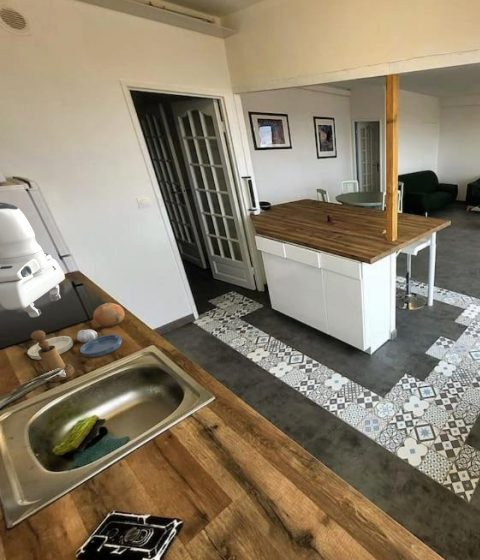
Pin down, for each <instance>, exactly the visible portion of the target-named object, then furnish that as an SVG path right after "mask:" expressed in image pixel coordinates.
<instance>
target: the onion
mask: <svg viewBox="0 0 480 560" xmlns="http://www.w3.org/2000/svg"><path fill="white" fill-rule="evenodd" d="M92 318H93V321H94V322H95V323H96V324H97V325H98V326H100V327H105V328H107V327H114V326H117V325H119V324H121V322H122V321H123V320H124V319H125V310H124V308H123V307H122V306H121V305H120V304H117V303H113V302H105V303H103V304H101V305H99V306H98V307H96V308H95V310H94V311H93V315H92Z"/></svg>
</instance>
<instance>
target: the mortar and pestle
mask: <svg viewBox="0 0 480 560" xmlns="http://www.w3.org/2000/svg"><path fill="white" fill-rule="evenodd" d="M30 338H31V339H32V340H34V341H36V342H37V343H39V344H38V346H39V347H40V348H42V349H40V350H39V351H38V354H39V355H40V357H41V358H42V360H41V361H42V362H43V364H44V365H45V367H46V369H47V371H46V372H45V373H47V372H49V371H52V370H55V369H57V368H63V369H64V370H65V373H66V377H58V378H56V379H54V380H52V381H50V382H49V383H58V382H61V381H64V380H66V379H68V378H70V377H72V376H73V375H74V373H75V372H76V370H75V368H74V367H73V365H72V364H70V363H64V359H62V357H61V354H60V355H59V353H58V351H57V349H56V347H55V346H49V343H48V341H45V340H46V339H45V338H46V333H45V331H44V330H40V329H37V330H34V331H33V332H31V334H30Z"/></svg>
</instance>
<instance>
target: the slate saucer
mask: <svg viewBox="0 0 480 560" xmlns="http://www.w3.org/2000/svg"><path fill="white" fill-rule="evenodd" d="M122 343H123V340H122V337H121V335H119V334H111V333H110V334H105V335H101V336H97V338H95V339H92V340H90V341H88V342H86V343H83V344H82V346H81V347H80V348H79V352H80V354H81V356H83V357H84V358H89V359H91V358H92V359H93V358H99V357H103V356H106V355H109V354H111V353H113V352H114V351H116V350H118V349H119V348H121V346H122Z"/></svg>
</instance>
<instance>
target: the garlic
mask: <svg viewBox="0 0 480 560" xmlns="http://www.w3.org/2000/svg"><path fill="white" fill-rule="evenodd" d="M97 337H99V335H98V332H97V331H95V330H94V329H91V328H90V329H89V328H88V329H81V330H79V331H77V336H76V339H77V341H78V342H80V343H83V344H85V343H87V342H88V341H90V340H92V339H95V338H97Z"/></svg>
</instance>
